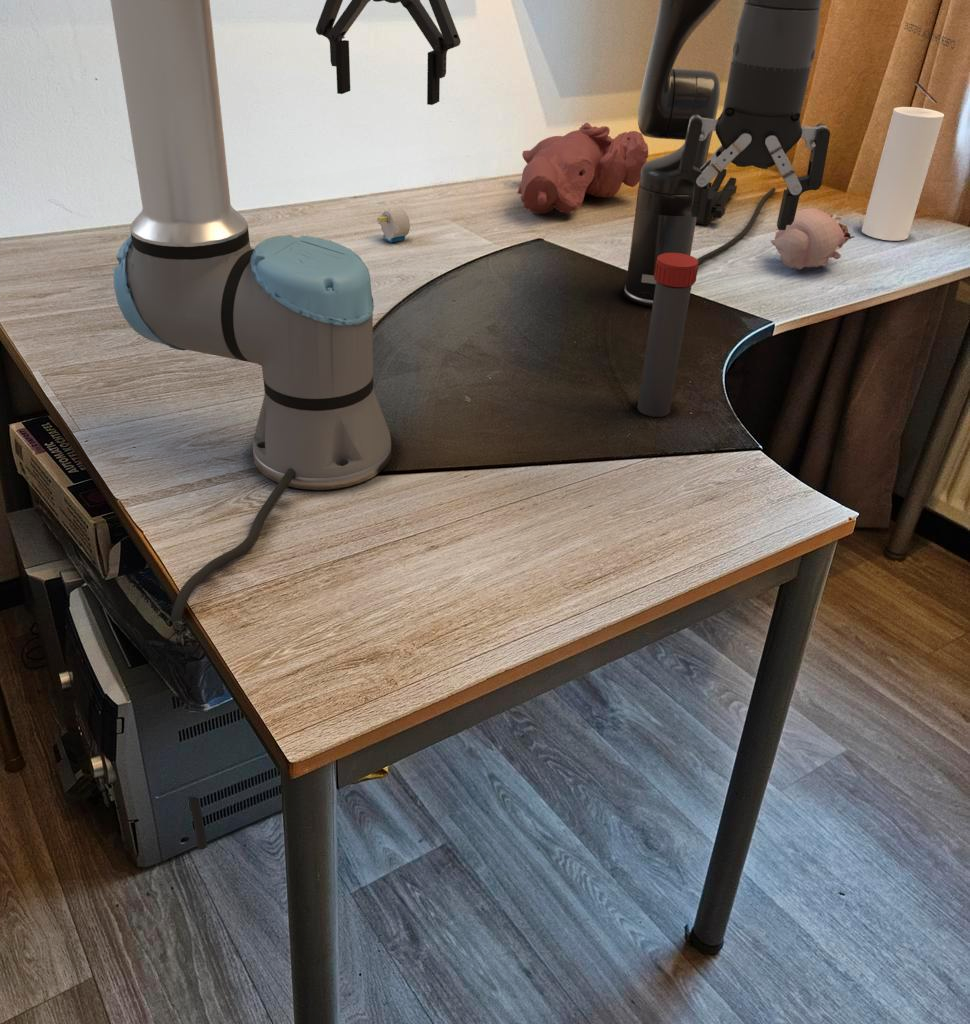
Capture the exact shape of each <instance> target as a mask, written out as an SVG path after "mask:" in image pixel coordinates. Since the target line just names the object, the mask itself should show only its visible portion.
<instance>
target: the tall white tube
mask: <svg viewBox="0 0 970 1024" xmlns="http://www.w3.org/2000/svg"><path fill="white" fill-rule="evenodd" d="M904 30H905V31H907V32H910V33H912V32H913V34H915V33H916V34H917V35H918V36H921V37H923V38H924V37H925V39H928V40H930V41H931V40H932V41H933V42H937V40H938V44H939V43H940V44H942V45H943V46H946V47H947V48H948V47H949V49H950V48H951V49H952V50H953V49H954V48H955V45H956V40H954V39H951V38H948V37H946V36H942V37H941V34H938V35H937V33H934V32H933V31H931V30H926V29H923V34H921V31H922V27H920V26H918V25H915V24H912V23H909V22H908V21H907V22H905V26H904ZM927 33H928V35H927ZM940 37H941V38H940ZM940 39H941V42H940ZM945 39H946V40H945ZM944 42H945V43H944ZM952 43H954V44H953V46H952ZM913 84H914V85H915V86H916V87H917V88H919V90H920V91H921V92H922V95H923V96H924V97H926V98H928V99H929V100H930V101H931V102H932V103H934V104H937V103H938V101H937V100H936V99H935V98H934V97H932V95H931V94H930V93H929V92H928V91H927V90H926V89H925V88H924V87H923V86H922V85H921V84H920V83H919V82H918V81H915V80H914V82H913ZM944 117H945V114H944V113H943V112H940V111H937V110H936V109H935V110H934V109H929V108H924V107H915V106H914V107H913V106H897V107H894V108H893V110H892V114H891V118H890V122H889V126H888V129H887V133H886V137H885V140H884V145H883V148H882V151H881V155H880V159H879V163H878V166H877V170H876V174H875V177H874V182H873V185H872V189H871V193H870V196H869V201H868V203H867V208H866V212H865V215H864V220H863V222H862V227H861V232H862V233H863V234H864V235H866V236H868V237H871V238H873V239H878V240H884V241H893V242H895V241H897V242H898V241H899V242H900V241H905V240H907V239H909V236H910V233H911V229H912V226H913V222H914V219H915V215H916V211H917V210H918V209H917V208H918V206H919V202H920V198H921V195H922V191H923V188H924V184H925V182H926V178H927V175H928V171H929V169H930V165H931V161H932V158H933V155H934V151H935V148H936V145H937V142H938V141H937V140H938V138H939V134H940V130H941V127H942V124H943V121H944Z"/></svg>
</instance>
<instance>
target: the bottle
mask: <svg viewBox="0 0 970 1024" xmlns="http://www.w3.org/2000/svg"><path fill="white" fill-rule="evenodd" d="M692 287H693V285H691V286H688V287H671V286H666V285H663V284H660V283H658V282H657V281H656V287H655V293H654V300H653V307H651V314H650V320H649V328H648V333H647V341H646V348H645V353H644V359H643V366H642V367H643V368H642V374H641V381H640V387H639V394H638V400H637V406H636V407H637V410H638V412H640V413H641V414H642V415H644V416H648V417H654V418H661V417H666V416H667V415H669V414H670V412H671V408H672V403H673V402H672V401H673V397H674V390H675V384H676V379H677V374H678V373H677V372H678V369H679V362H680V355H681V349H682V344H683V338H684V332H685V327H686V320H687V314H688V310H689V302H690V297H691V291H692Z"/></svg>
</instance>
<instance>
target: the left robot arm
mask: <svg viewBox="0 0 970 1024" xmlns="http://www.w3.org/2000/svg"><path fill="white" fill-rule="evenodd" d="M343 1H344V0H325V3H324V5H323V8H322V11H321V13H320V16H319V19H318V22H317V24H316V27H315V33H316V34H317V35H318V36H323V37H324V38H326V39H327V40H328V42H329V54H330V56H329V57H330V65H331V67H335V70H336V71H335V72H336V94H339V95H343V94H346V93H349V92H351V67H350V66H351V63H350V41H349V40H345V38H346V36H345V35H347V33H348V31H349V30H350V29H351V27H352V26H353V24H354V23H355V21H356V20H357V19H358V18H359V16H360V14H361V13H362V12H363V10H364V9H365V8H366V6H367V5H368V4H369V3H370V2H371V1H372V2H377V3H380V2H384V1H385V2H387V3H389V4H398V3H400V4H401V5H402V7H403V8H405V9H406V10H407V12H408V13H409V15H410V17H411V18H412V20H413V21H414V22H415V24H416V26H417V27H418V29H419V31H420V32H421V33H422V35H423V36H424V38H425V39H426V40H427V43H428V44H429V46H430V47H431V48H432V50H431V51H428V52H427V74H426V75H427V79H426V80H427V85H426V87H427V88H426V105H429V106H433V105H435V104H438V103H440V93H441V92H440V91H441V90H440V89H441V87H440V86H441V83H440V81H441V79H443V78H445V77H446V74H447V54H448V51H449V50H451V49H454V48H457V47H459V46H460V45H461V42H462V41H461V38H460V35H459V33H458V30H457V27H456V24H455V22H454V19H453V17H452V14H451V11H450V9H449V7H448V4H447V1H446V0H428V2H429V5H430V8H431V10H432V13H433V15H434V18H435V21H436V23H437V25H438V26H437V25H436V23H435V22H434V20H433V19H432V17H431V15H429V13H428V11H427V9H426V8H425V6H424V5H423V3H422V2H421V0H351V1H350V2H349V3H348V5H347V6H346V8H345V9H344V11H343V12H342V14H341V15H340V16H339V18H338V19H337V17H338V14H339V12H340V9H341V6H342V4H343ZM110 6H111V12H112V19H113V20H112V21H113V27H114V31H115V39H116V45H117V52H118V59H119V64H120V70H121V77H122V84H123V90H124V96H125V97H124V98H125V103H126V110H127V116H128V122H129V123H128V124H129V129H130V136H131V142H132V149H133V156H134V161H135V169H136V175H137V180H138V187H139V194H140V199H141V206H142V210H141V211H140V212H139V214H138V215H137V216H136V217H135V218H134V220H133V221H132V222H131V224H130V225H129V232H130V236H128V237H127V238H126V239H125V240H124V241H123V243H122V244H121V246H120V247H119V249H118V252H117V256H116V260H117V261H118V265H117V266H114V268H113V288H114V294H115V298H116V302H117V305H118V307H119V310H120V312H121V315H122V316H123V318H124V319H125V321H126V323H127V324H128V325H129V327H130V328H131V329H133V331H134V332H136V333H137V334H138V335H139V336H141V337H143V338H144V339H145V340H148V341H150V342H154V343H157V344H161V345H164V346H167V347H169V348H171V349H174V350H178V351H191V352H197V353H202V354H207V355H211V356H216V357H222V358H226V359H231V360H236V361H242V362H248V363H251V364H252V363H253V364H257V365H259V366H261V370H262V379H263V388H264V390H263V391H264V396H263V400H262V404H261V408H260V412H259V415H258V419H257V423H256V427H255V430H254V434H253V439H252V441H253V442H252V455H253V460H254V464H255V467H256V468H257V470H258V471H259V472H260V473H261V474H262V475H263V476H265V477H266V478H268V479H269V480H271V481H273V482H275V483H277V485H275V488H274V489H273V490H272V492H271V493H270V495H269V496H268V498H267V499H266V501H265V502H264V503H263V504H262V506H261V507H260V509H259V511H258V512H257V514H256V515H255V517H254V520H253V522H252V525H251V527H250V530H249V533H248V535H247V536H246V538H245V539H244V540H243V541H242V542H241V543H240V544H238V545H236V547H234V548H232V549H230V550H229V551H226V552H224V553H222V554H221V555H219V556H217V557H215V558H214V559H212V560H210V561H209V562H208V563H206V564H205V565H204V566H203V567H202V568H201V569H199V570H197V571H196V572H195V573H194V574H193V575H192V576H190V577H189V578H188V580H187V581H185V583H184V584H183V586H182V587H181V589H180V590H179V592H178V594H177V596H176V599H175V601H174V604H173V607H172V610H171V613H170V621H172V622H177V621H180V620H181V619H182V618H183V616H184V613H185V609H186V606H187V604H188V602H189V599H190V597H191V595H192V593H193V591H194V590H195V589H196V588H197V587H198V586H199V585H200V584H202V583H203V582H204V581H205V580H206V579H208V578H209V577H210V576H211V575H213V573H215V572H216V571H218V570H219V569H220V568H222V567H224V566H226V565H227V564H230V563H232V562H233V561H235V560H237V559H238V558H241V557H242V556H243V555H245V554H246V553H248V552H249V551H250V549H251V548H253V546H254V545H255V543H256V542H257V541H258V539H259V538H260V535H261V531H262V529H263V525H264V523H265V522H266V520H267V517H268V516H269V515H270V512H271V511H272V510H273V508H274V507H275V505H276V504H277V503H278V501H279V500H280V498H281V496H282V495H283V494H284V492H285V491H286V489H287V488H288V487H290V488H295V489H301V490H312V491H314V490H315V491H323V490H327V491H328V490H337V489H342V488H348V487H351V486H355V485H358V484H361V483H363V482H366V481H368V480H370V479H373V478H374V477H375V476H377V475H378V474H380V473H381V472H382V471H383V470H384V469H385V468H386V467H387V466H388V464H389V463H390V461H391V458H392V437H391V432H390V430H389V427H388V424H387V422H386V419H385V417H384V413H383V411H382V408H381V406H380V403H379V400H378V398H377V395H376V393H375V385H374V320H373V319H374V318H373V317H374V315H373V314H374V308H375V301H374V297H373V292H372V283H371V275H370V270H369V267H368V266H367V264H366V263H365V262H364V260H363V259H362V258H361V257H360V256H359V254H357V253H356V252H355V251H353V250H352V249H351V248H348V247H346V246H345V245H343V244H340V243H338V242H335V241H331V240H329V239H324V238H322V237H317V236H310V235H300V236H299V237H296V236H293V235H288V234H287V235H279V236H273V237H269V238H265V239H264V240H262V241H260V242H259V243H258V244H257V245H255V247H254V248H253V247H251V242H250V241H251V240H250V233H249V223H248V220H247V219H246V218H245V216H243V215H242V214H240V213H239V212H238V211H237V210H236V209H234V207H233V206H232V203H231V194H230V185H229V183H230V182H229V175H228V174H229V173H228V165H227V156H226V155H227V154H226V146H225V137H224V129H223V128H224V127H223V118H222V117H223V115H222V106H221V97H220V88H219V78H218V67H217V59H216V57H217V56H216V49H215V40H214V30H213V29H214V28H213V21H212V20H213V19H212V11H211V2H210V0H110ZM336 19H337V21H336ZM187 798H188V803H189V808H190V812H191V816H192V822H193V827H194V832H195V838H196V844H197V849H198V850H203V851H204V850H205V849H207V847H208V842H207V837H206V836H207V835H206V830H205V823H204V818H203V813H202V808H201V803H200V798H199V797H195V796H189V795H188V797H187Z"/></svg>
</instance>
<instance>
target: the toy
mask: <svg viewBox="0 0 970 1024" xmlns="http://www.w3.org/2000/svg"><path fill="white" fill-rule="evenodd" d="M842 221H843V220H842V217H840V216H838V215H837V214H835V213H833V214H831V215H830V214H828V213H827V212H826V211H823V210H820V209H817V208H802V209H799V210H796V214H795V219H794V221H793V223H792V224H791V225H787V226H786V230H778V231H775V236H774V239H770V240H769V241H770V243H771V244H772V245H773V247H775V249H776V250H777V251H776V252H778V254H779V256H780V258H781V260H782V262H783V264H785V266H787V267H788V268H791V269H796V270H797V271H798V270H799V271H800V270H801V271H802V270H803V269H804V268H817V269H819V267H820V266H821V268H824V267H826V266H828V264H829V260H830V259H832V258H833V259H835V260H839V259H841V257H842V254H840V253H839V252H838V250H840V249H842V248H843V246H844V245H845V244H846V243H847V242H848V241H849V240H852V239H854V238H855V236H851V233H850V231H849V228H848V224H847V223H842Z"/></svg>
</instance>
